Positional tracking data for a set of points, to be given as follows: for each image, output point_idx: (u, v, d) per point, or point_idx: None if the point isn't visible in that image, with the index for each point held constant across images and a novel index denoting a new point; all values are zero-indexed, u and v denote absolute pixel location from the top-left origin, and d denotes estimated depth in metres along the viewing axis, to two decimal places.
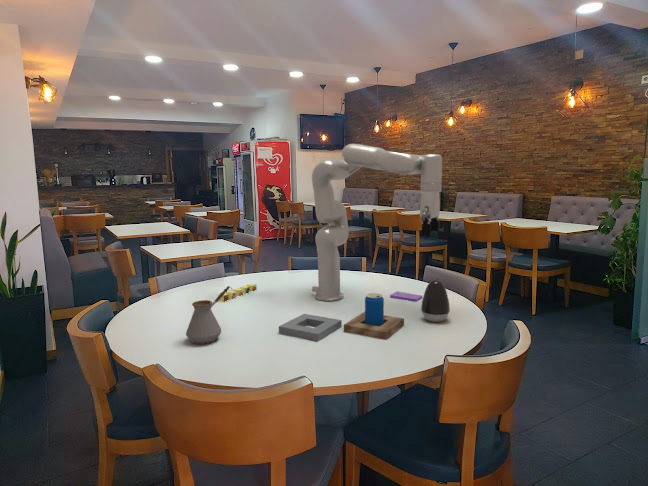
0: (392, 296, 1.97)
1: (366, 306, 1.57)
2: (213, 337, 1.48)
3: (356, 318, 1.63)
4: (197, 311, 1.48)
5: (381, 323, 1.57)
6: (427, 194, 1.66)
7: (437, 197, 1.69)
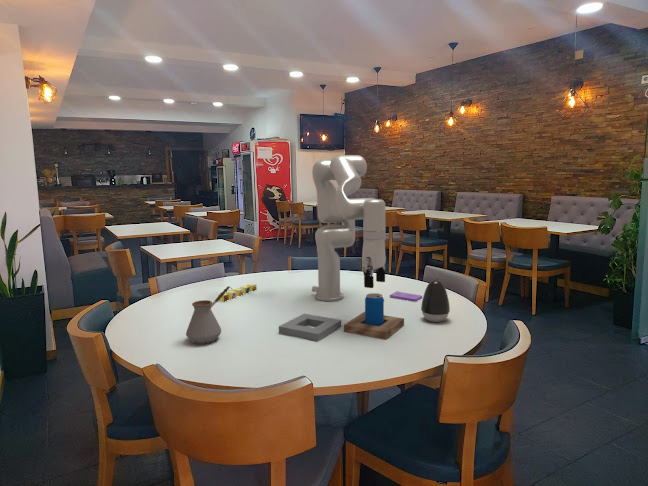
0: (392, 296, 1.97)
1: (366, 306, 1.57)
2: (213, 337, 1.48)
3: (356, 318, 1.63)
4: (197, 311, 1.48)
5: (381, 323, 1.57)
6: (369, 244, 1.51)
7: (381, 246, 1.54)
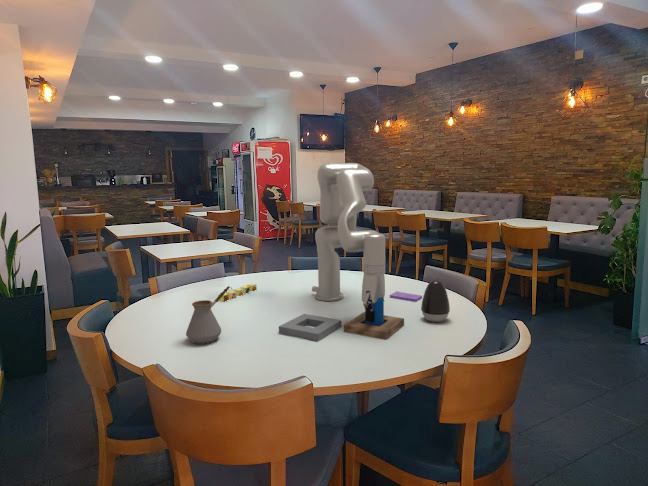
0: (392, 296, 1.97)
1: None
2: (213, 337, 1.48)
3: (356, 318, 1.63)
4: (197, 311, 1.48)
5: (381, 323, 1.57)
6: (369, 278, 1.53)
7: (381, 279, 1.56)
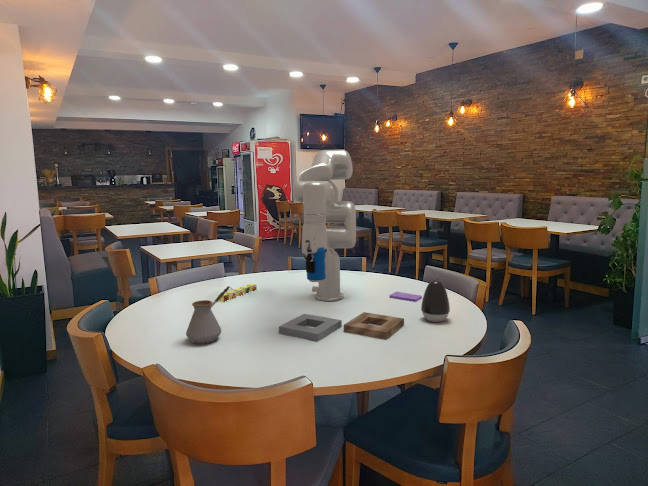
0: (392, 296, 1.97)
1: None
2: (213, 337, 1.48)
3: (356, 318, 1.63)
4: (197, 311, 1.48)
5: (322, 274, 1.54)
6: (308, 227, 1.50)
7: (321, 229, 1.53)
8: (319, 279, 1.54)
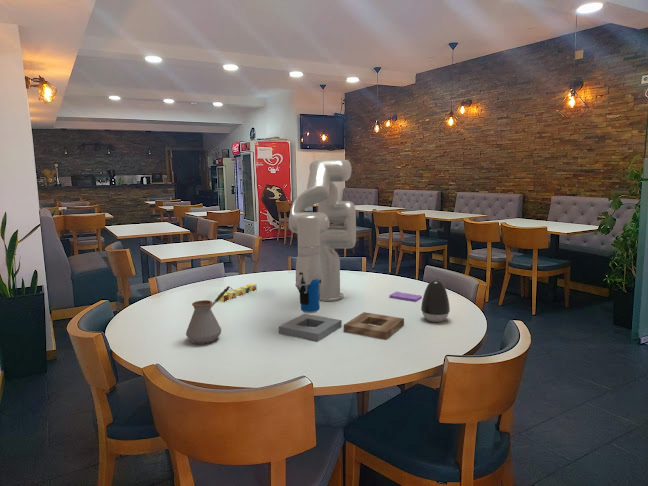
0: (392, 296, 1.97)
1: None
2: (213, 337, 1.48)
3: (356, 318, 1.63)
4: (197, 311, 1.48)
5: (316, 306, 1.55)
6: (302, 259, 1.51)
7: (315, 261, 1.54)
8: (313, 310, 1.55)
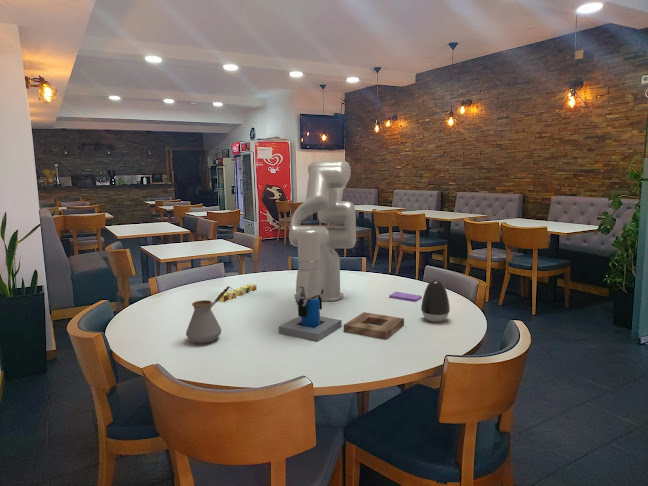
0: (391, 296, 1.97)
1: None
2: (213, 337, 1.48)
3: (356, 318, 1.63)
4: (197, 311, 1.48)
5: (317, 324, 1.57)
6: (302, 274, 1.52)
7: (315, 275, 1.55)
8: None
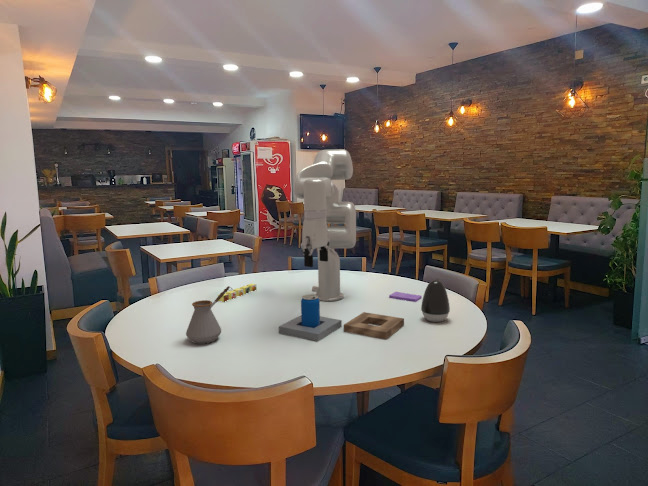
0: (391, 296, 1.97)
1: (302, 307, 1.57)
2: (213, 337, 1.48)
3: (356, 318, 1.63)
4: (197, 311, 1.48)
5: (316, 324, 1.57)
6: (308, 223, 1.52)
7: (321, 225, 1.55)
8: None
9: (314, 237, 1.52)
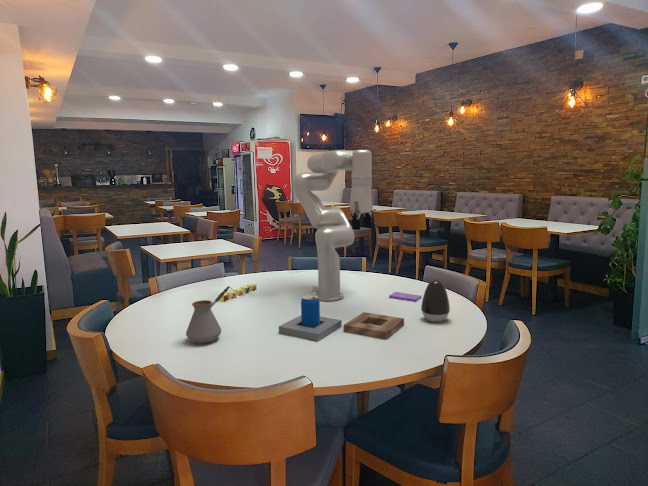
0: (391, 296, 1.97)
1: (301, 307, 1.57)
2: (213, 337, 1.48)
3: (356, 318, 1.63)
4: (197, 311, 1.48)
5: (316, 324, 1.57)
6: (356, 190, 1.67)
7: (367, 192, 1.70)
8: None
9: (362, 202, 1.67)
